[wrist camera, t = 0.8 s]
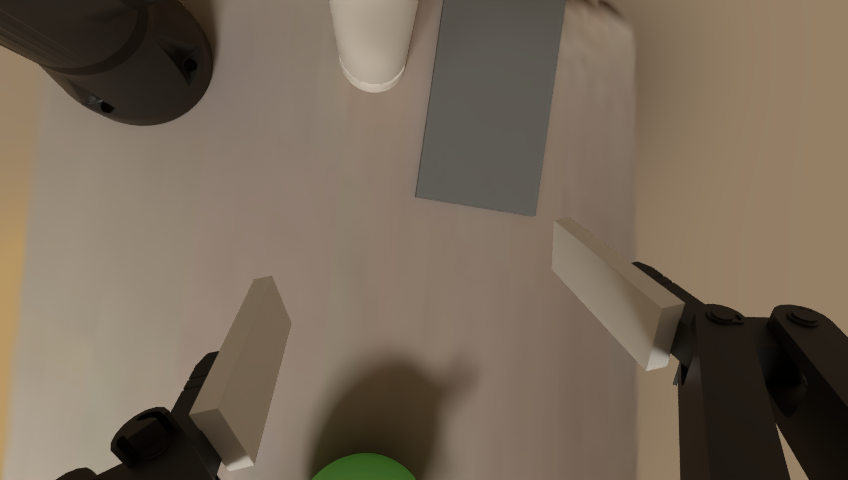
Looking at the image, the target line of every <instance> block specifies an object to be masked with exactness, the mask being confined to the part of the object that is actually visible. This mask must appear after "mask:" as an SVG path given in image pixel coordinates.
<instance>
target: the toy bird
mask: <svg viewBox="0 0 848 480" xmlns="http://www.w3.org/2000/svg"><path fill="white" fill-rule="evenodd" d="M311 480H416V479H415V477H414V476H413V475H412V474H411V473H410V472H409V471H408V470H407V469H406V468H405V467H404V466H403V465H401V464H400V463H398V462H397V461H395V460H393V459H391V458H389V457H386V456H383V455H380V454H375V453H358V454H352V455H349V456H345V457H343V458H340V459H338V460H336V461H334V462H332V463H330V464H329V465H327V466H326V467H324V468H323V469H322V470H321V471H320V472H318V473H317V474H316V475H315V476H314V477H313V478H312V479H311Z"/></svg>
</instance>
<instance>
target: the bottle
mask: <svg viewBox="0 0 848 480" xmlns="http://www.w3.org/2000/svg"><path fill="white" fill-rule="evenodd" d="M418 1H419V0H329V3H330V8H331V14H332V20H333V26H334V31H335V37H336V43H337V48H338V54H339V60H340V65H341V68H342V70H343V72H344V75H345V76H346V77H347V79H348V80H349V81H350V82H351V83H352V84H353V85H355V86H356V87H358V88H359V89H361V90H364V91H368V92H383V91H386V90H388V89H391V88H392V87H393V86H394V85H396V84H397V83H398V82H399V80H400V79H401V77H402V75H403V73H404V69H405V65H406V60H407V55H408V50H409V45H410V40H411V35H412V31H413V26H414V21H415V16H416V11H417V6H418Z"/></svg>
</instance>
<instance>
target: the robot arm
mask: <svg viewBox="0 0 848 480" xmlns="http://www.w3.org/2000/svg"><path fill="white" fill-rule="evenodd" d="M0 45H1V46H3V47H5V48H7V49H9V50H11V51H13V52H15V53H17V54H19V55H21V56H23V57H25V58H27V59H29V60H32V61H33V62H35V63H37V64H39V65H40V66H41V67H42V68H43V69H44V70H45V71H46V72H47V73H48V74H49V75H50V76H51V77H52V78H53V79H54V80H55V81H56V82H57V83H58V84H59V85H60V86H61V87H62V88H63V89H64V90H65V91H66V92H67V93H68V94H69V95H70V96H71V97H72V98H73V99H75V100H76V101H77V102H79V103H80V104H82V105H83V106H85V107H86V108H88V109H90V110H92V111H94V112H96V113H98V114H100V115H103V116H105V117H107V118H109V119H112V120H114V121H117V122H121V123H125V124H130V125H139V126H148V125H157V124H162V123H166V122H169V121H171V120H174V119H176V118H178V117H180V116H182V115H183V114H185V113H186V112H188V111H189V110H190V109H192V108H193V107H194V106H195V105H196V104H197V103H198V101H199V100H200V99H201V97H202V96H203V94H204V93H205V91H206V89H207V87H208V84H209V81H210V77H211V72H212V54H211V49H210V45H209V42H208V40H207V37H206V35H205V33H204V31H203V29H202V28H201V26H200V25H199V23H198V22H197V21H196V19H195V18H194V17H193V16H192V15H191V13H190V12H189V11H188V10H187V8H186V7H185V6H184V5H183V4H182V3H181V2H180V1H179V0H0ZM552 270H553V271H554V272H555V273H556V274H557V275H558V276H559V277H560V278H561V279H562V281H563V282H564V283H565V284H566V285H567V286H568V287H569V288H570V289H571V290H572V291H573V292H574V294H575V295H576V296H577V297H578V298H579V299H580V300H581V301H582V302H583V303H584V304H585V305H586V307H587V308H588V309H589V310H590V311H591V312H592V313H593V314H594V315H595V316H596V317H597V318H598V320H599V321H600V322H601V323H602V324H603V325H604V326H605V327H606V328H607V329H608V330H609V331H610V332H611V334H612V335H613V336H614V337H615V338H616V339H617V340H618V341H619V342H620V343H621V344H622V345H623V347H624V348H625V349H626V350H627V351H628V352H629V353H630V354H631V355H632V356H633V357H634V358H635V360H636V361H637V362H638V363H639V364H640V365H641V366H642V367H643V368H644V369H645V370H646V371H649V370H653V369H657V368H661V367H665V366H667V364H668V361H669V357H670V354H672V355H673V356H675V357H676V358H677V359H678V360H679V361H680V362H679V366H678V369H677V372H676V375H675V378H674V382H673V385H677V383H678V406H679V444H680V479H681V480H790V476H789V472H788V468H787V465H786V461H785V457H784V453H783V450H782V446H781V442H780V438H779V435H778V431H777V427H776V424H777V426H778V428H779V429H780V431H781V433H782V434H783V436H784V438H785V440H786V441H787V443H788V445H789V446H790V448H791V450H792V452H793V453H794V455H795V457H796V458H797V460H798V462H799V463H800V465H801V467H802V469H803V470H804V472H805V474H806V475H807V477H808V479H809V480H848V337H847V336H846V335H845V334H844V333H843V332H842V331H841V330H840V329H839V328H838V327H837V326H836V325H835V324H834V323H833V322H832V321H831V320H830V319H828V318H827V317H826V316H824V315H823V314H820V313H818V312H816V311H814V310H812V309H809V308H805V307H802V306H796V305H779V306H777V307H775V308H774V309H773V311H772V313H771V316H770V318H765V317H763V318H762V317H744V316H743V315H742V314H740V313H739V312H737V311H735V310H733V309H731V308H729V307H725V306H722V305H716V304H704V303H702V302H701V301H699V300H698V299H696V298H695V297H694V296H692V295H691V294H689V293H688V292H686V291H685V290H684V289H682V288H681V287H679V286H678V285H676V284H675V283H672V281H671V280H669V279H668V278H666V277H663V275H662V274H661V273H660V272H658V271H657V270H655V269H654V268H652V267H650V266H648V265H645V264H643V263H640V262H633V263H631V262H629V261H628V260H626V259H625V258H624V257H622V256H621V255H620V254H618V253H617V252H616V251H614V250H613V249H612V248H610V247H609V246H608V245H606V244H605V243H604V242H602V241H601V240H600V239H598V238H597V237H596V236H594V235H593V234H591V233H590V232H589V231H587V230H586V229H585V228H583V227H582V226H581V225H579V224H578V223H577V222H575V221H574V220H573V219H571V218H570V217H569V218H564V219H559V220H554V236H553V255H552ZM290 327H291V321H290V319H289V316H288V314H287V311H286V309H285V306H284V304H283V301H282V299H281V297H280V294H279V292H278V289H277V287H276V284H275V282H274V279H273V277H272V276H268V277H263V278H258V279H254V281H253V283H252V285H251V287H250V289H249V291H248V293H247V295H246V297H245V299H244V302H243V304H242V306H241V308H240V310H239V312H238V314H237V316H236V318H235V320H234V322H233V324H232V326H231V328H230V330H229V332H228V335H227V337H226V339H225V341H224V343H223V345H222V347H221V349H220V351H217V352H212V353H208V354H207V355H206V356H205V357H204V358H203V359H202V360H201V361H200V362H199V363H198V364H197V365H196V366H195V368H194V370H193V372H192V374H191V376H190V377H189V381H187V383H186V385H185V387H184V391H182V392H181V394H180V396H179V398H178V400H177V402H176V403H175V405H174V407H173V409H172V411H171V413H170V412H169V410H167V409H166V408H164V407H155V408H151V409H148V410H145V411H143V412H141V413H140V414H138V415H136V416H134V417H133V418H132V419H130V420H129V421H128V422H127V423H125V424H124V425H123V426H122V427H121V428H120V430H119V431H118V432H117V433H116V434H115V436H114V438H113V440H112V442H111V451H112V452H113V453H114V454H115V455H116V456H117V457H118V458H119V460H120V461H121V462H122V463H121V464H119V465H117V466H115V467H113V468H111V469H109V470H107V471H105V472H103V473H101V474H99V475H96V474H95V473H94V472H93V471H92V470H90V469H88V468H87V467H86V468H78V469H75V470H73V471H70V472H68V473H65V474H64V475H62V476H61V477H59V478H58V479H56V480H220V478H219V477H218V476H217V472H218V469H219V466H220V463H221V461H222V462H223V463H224V465H225V466H226V468H227V469H228V470H229V471H232V470H236V469H241V468H245V467H249V466H253V465H255V461H256V457H257V453H258V449H259V446H260V442H261V438H262V434H263V430H264V426H265V423H266V419H267V415H268V411H269V407H270V403H271V400H272V396H273V392H274V388H275V384H276V381H277V377H278V373H279V369H280V365H281V361H282V358H283V354H284V350H285V346H286V342H287V338H288V335H289V331H290Z"/></svg>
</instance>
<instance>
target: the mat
mask: <svg viewBox="0 0 848 480" xmlns="http://www.w3.org/2000/svg"><path fill="white" fill-rule="evenodd" d="M565 2H566V0H443V7H442V14H441V21H440V28H439V35H438V42H437V49H436V56H435V62H434V69H433V76H432V83H431V90H430V97H429V104H428V111H427V118H426V125H425V132H424V139H423V146H422V152H421V159H420V166H419V173H418V180H417V187H416V194H415V197H418V198H424V199H430V200H436V201H442V202H448V203H454V204H461V205H467V206H473V207H479V208H485V209H491V210H497V211H503V212H509V213H515V214H521V215H527V216H535V215H536V208H537V200H538V193H539V186H540V179H541V172H542V165H543V158H544V151H545V144H546V137H547V130H548V123H549V116H550V108H551V101H552V94H553V87H554V80H555V73H556V66H557V59H558V52H559V45H560V38H561V31H562V24H563V16H564V9H565Z"/></svg>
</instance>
